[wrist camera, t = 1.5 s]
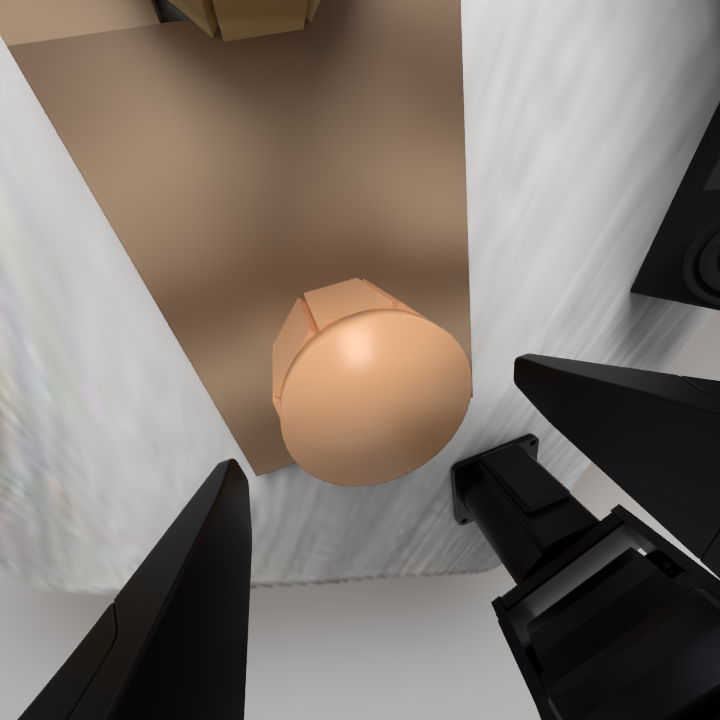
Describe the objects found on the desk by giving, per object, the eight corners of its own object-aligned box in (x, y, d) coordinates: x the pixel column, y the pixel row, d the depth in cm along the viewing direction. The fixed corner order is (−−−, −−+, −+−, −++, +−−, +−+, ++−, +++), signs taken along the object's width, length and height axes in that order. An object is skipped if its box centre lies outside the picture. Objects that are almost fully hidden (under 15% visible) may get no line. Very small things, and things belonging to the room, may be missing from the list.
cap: (418, 385, 15) (474, 448, 11) (303, 425, 14) (316, 510, 10) (401, 264, 12) (469, 288, 8) (254, 307, 11) (244, 358, 7)
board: (462, 387, 17) (494, 416, 14) (257, 461, 15) (254, 508, 13) (425, -342, 7) (511, -658, 4) (-199, -356, 5) (-626, -876, 3)
